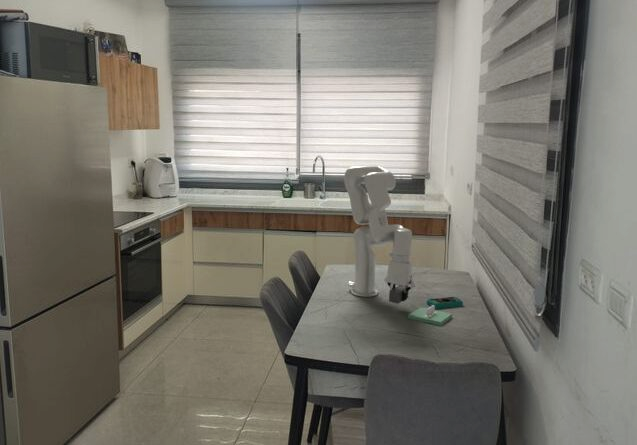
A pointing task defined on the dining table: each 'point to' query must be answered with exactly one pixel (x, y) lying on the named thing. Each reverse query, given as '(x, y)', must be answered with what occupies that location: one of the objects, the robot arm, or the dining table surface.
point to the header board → (430, 315)
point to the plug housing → (396, 294)
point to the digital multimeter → (445, 302)
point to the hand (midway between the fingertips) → (398, 298)
